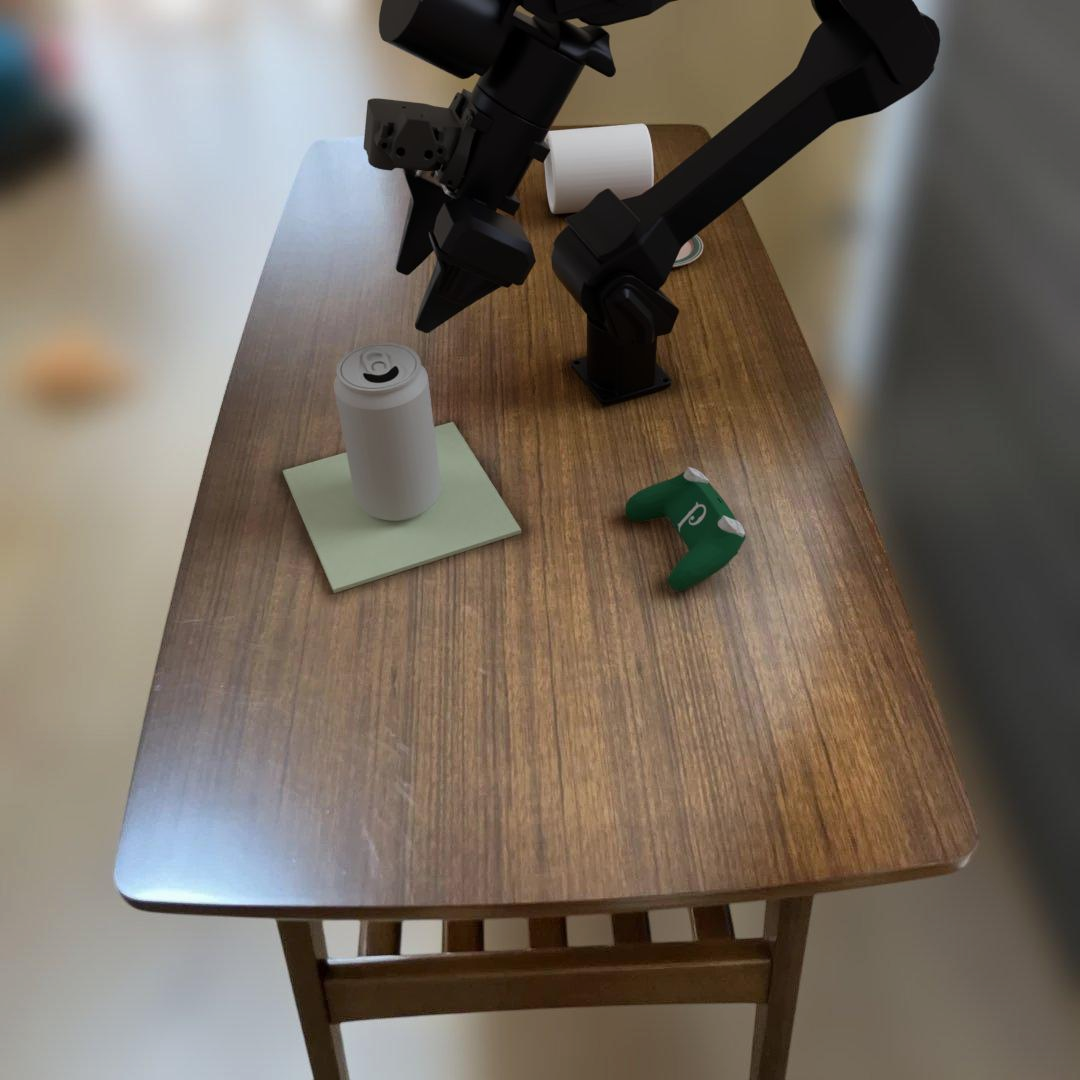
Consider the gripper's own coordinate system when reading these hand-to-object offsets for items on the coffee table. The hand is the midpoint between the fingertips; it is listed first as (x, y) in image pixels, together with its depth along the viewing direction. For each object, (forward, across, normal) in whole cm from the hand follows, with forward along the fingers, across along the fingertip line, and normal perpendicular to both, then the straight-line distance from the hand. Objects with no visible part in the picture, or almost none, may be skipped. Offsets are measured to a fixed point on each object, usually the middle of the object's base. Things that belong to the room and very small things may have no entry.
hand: (410, 300), depth 82 cm
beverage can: (+12, +8, +4) cm, 15 cm away
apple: (-6, -22, +28) cm, 36 cm away
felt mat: (+12, +8, +4) cm, 15 cm away
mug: (-5, -34, +25) cm, 43 cm away
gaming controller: (+2, +18, +20) cm, 27 cm away
